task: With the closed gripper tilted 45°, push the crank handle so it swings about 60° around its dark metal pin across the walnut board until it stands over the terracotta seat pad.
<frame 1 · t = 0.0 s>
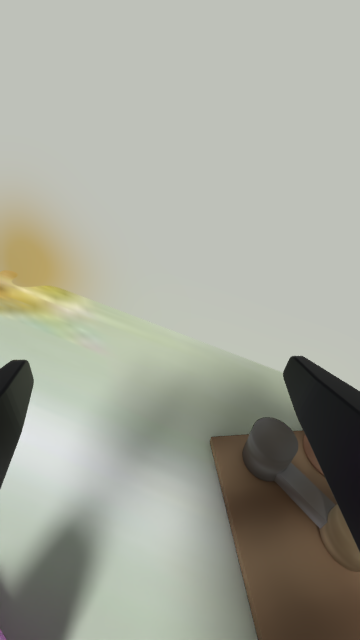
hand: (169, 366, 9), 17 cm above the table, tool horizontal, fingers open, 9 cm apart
brown board: (319, 512, 21), on the table
crank handle: (324, 461, 18), point 6 cm above the table, hinge at -60.0°
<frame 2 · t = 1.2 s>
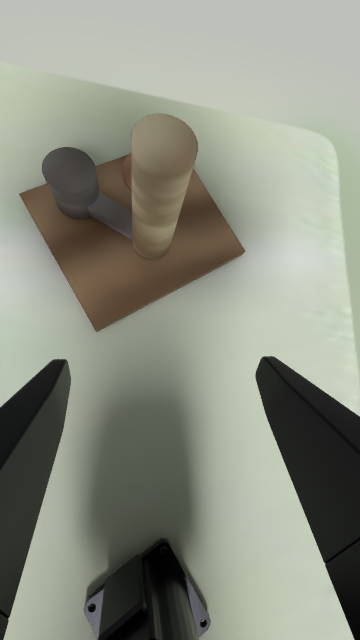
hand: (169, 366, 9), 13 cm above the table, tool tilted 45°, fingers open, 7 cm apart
brown board: (138, 229, 23), on the table
crank handle: (108, 177, 17), point 6 cm above the table, hinge at -60.0°
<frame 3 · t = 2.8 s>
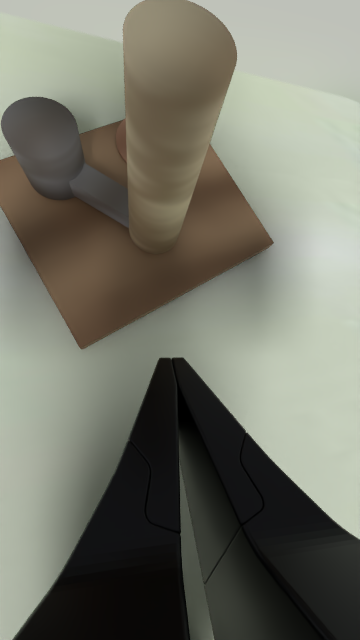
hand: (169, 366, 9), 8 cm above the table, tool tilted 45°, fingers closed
brown board: (137, 214, 18), on the table
crank handle: (94, 133, 12), point 6 cm above the table, hinge at -60.0°
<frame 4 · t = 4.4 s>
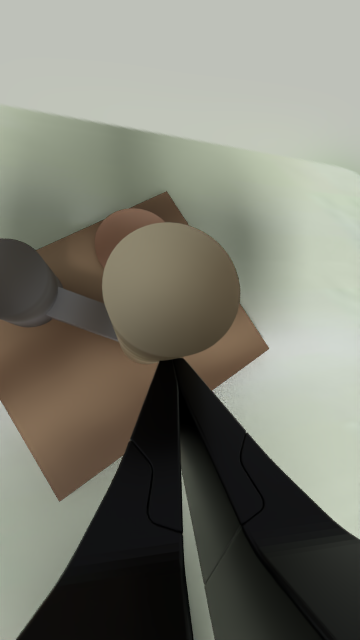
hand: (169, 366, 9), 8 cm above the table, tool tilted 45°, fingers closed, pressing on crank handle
brown board: (121, 326, 17), on the table
crank handle: (69, 292, 10), point 6 cm above the table, hinge at -51.5°, touching gripper
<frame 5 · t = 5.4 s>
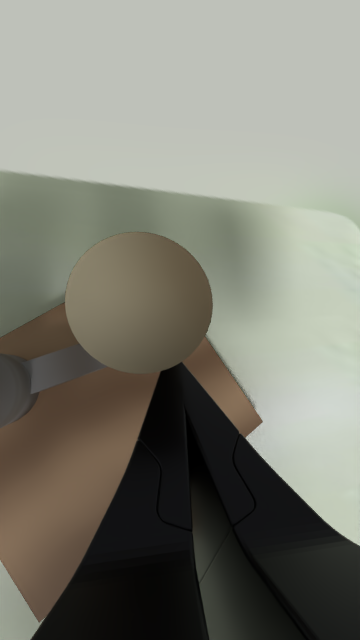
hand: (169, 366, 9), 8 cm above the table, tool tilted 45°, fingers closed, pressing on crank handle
brown board: (104, 407, 15), on the table
crank handle: (41, 363, 10), point 6 cm above the table, hinge at -13.9°, touching gripper
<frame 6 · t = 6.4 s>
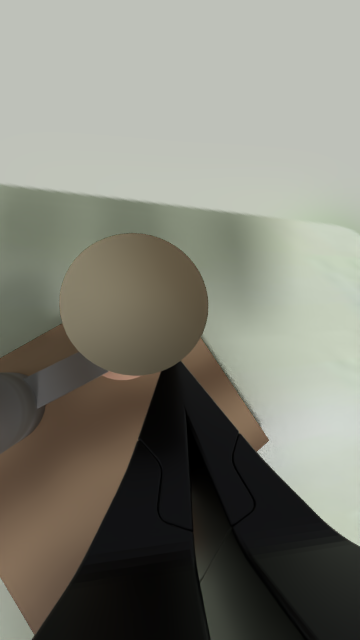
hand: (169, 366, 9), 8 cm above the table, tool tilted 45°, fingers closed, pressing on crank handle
brown board: (109, 425, 15), on the table
crank handle: (43, 377, 10), point 6 cm above the table, hinge at -5.6°, touching gripper
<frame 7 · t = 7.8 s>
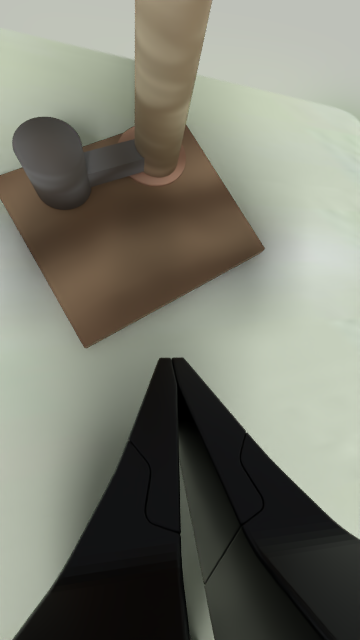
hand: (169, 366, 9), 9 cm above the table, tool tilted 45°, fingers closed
brown board: (137, 222, 19), on the table
crank handle: (102, 102, 14), point 6 cm above the table, hinge at -5.1°
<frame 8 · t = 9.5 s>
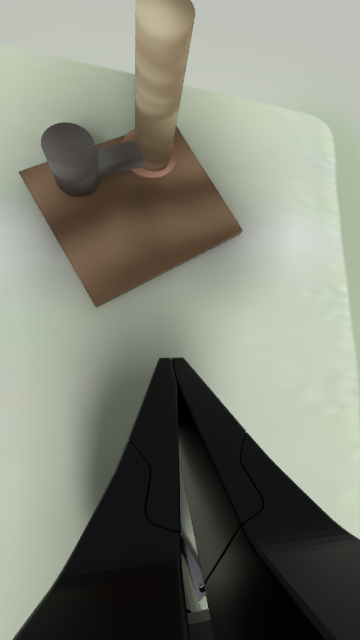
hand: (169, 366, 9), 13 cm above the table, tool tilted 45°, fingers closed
brown board: (137, 208, 24), on the table
crank handle: (110, 111, 18), point 6 cm above the table, hinge at -5.1°
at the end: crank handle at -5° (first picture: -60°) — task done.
